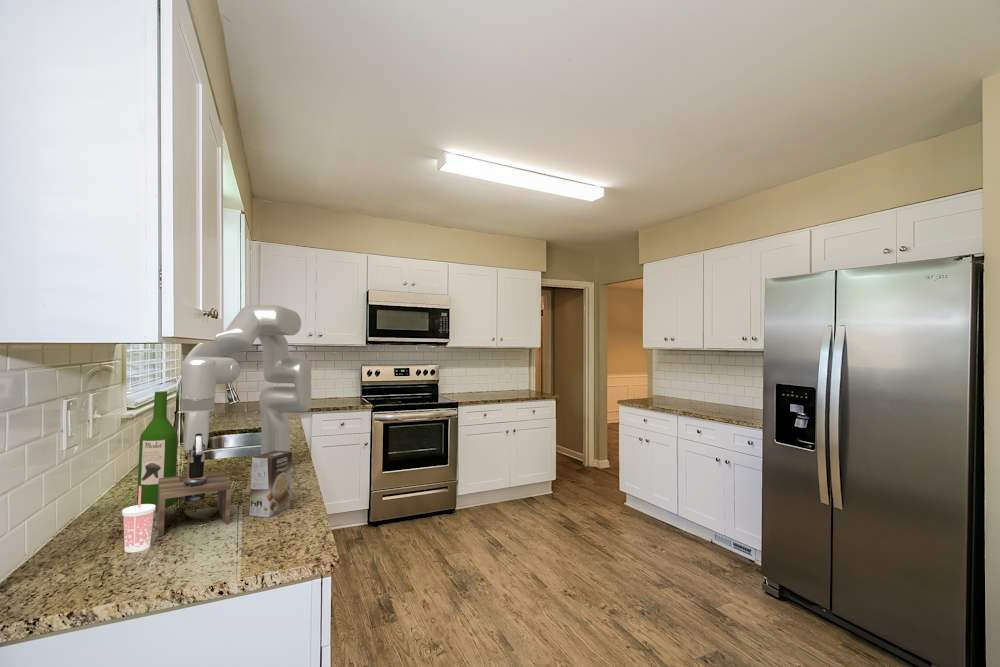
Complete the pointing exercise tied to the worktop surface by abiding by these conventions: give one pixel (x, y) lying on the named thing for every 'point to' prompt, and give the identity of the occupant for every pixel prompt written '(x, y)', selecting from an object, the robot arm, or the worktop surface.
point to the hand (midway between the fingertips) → (195, 475)
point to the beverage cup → (138, 526)
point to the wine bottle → (157, 453)
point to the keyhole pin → (194, 484)
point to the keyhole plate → (174, 488)
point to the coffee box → (270, 483)
